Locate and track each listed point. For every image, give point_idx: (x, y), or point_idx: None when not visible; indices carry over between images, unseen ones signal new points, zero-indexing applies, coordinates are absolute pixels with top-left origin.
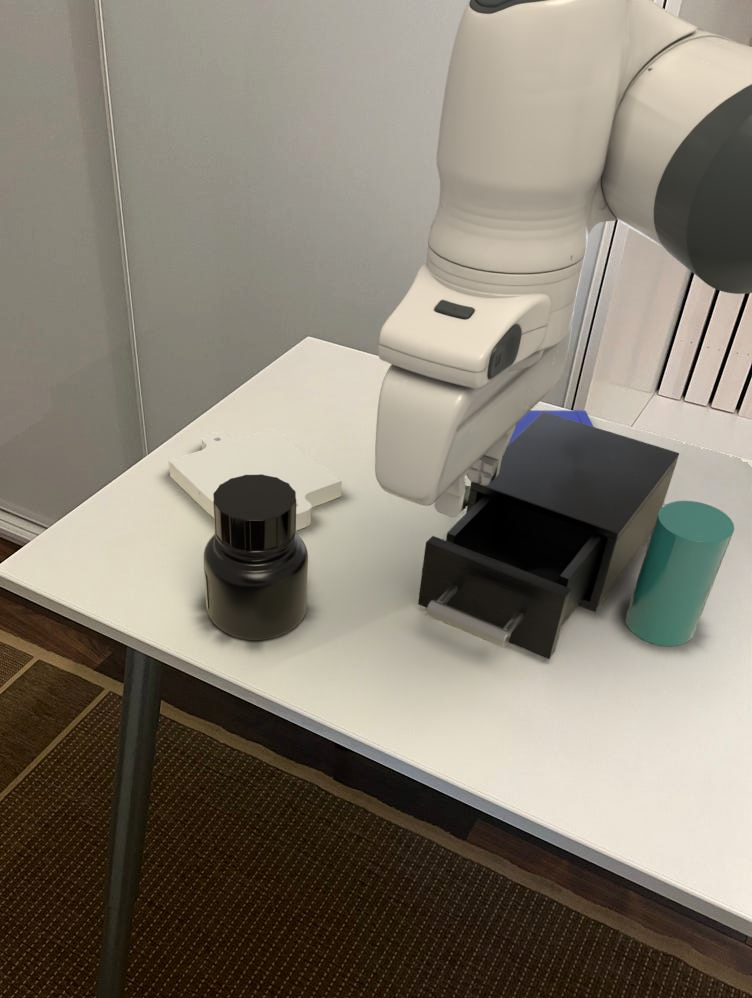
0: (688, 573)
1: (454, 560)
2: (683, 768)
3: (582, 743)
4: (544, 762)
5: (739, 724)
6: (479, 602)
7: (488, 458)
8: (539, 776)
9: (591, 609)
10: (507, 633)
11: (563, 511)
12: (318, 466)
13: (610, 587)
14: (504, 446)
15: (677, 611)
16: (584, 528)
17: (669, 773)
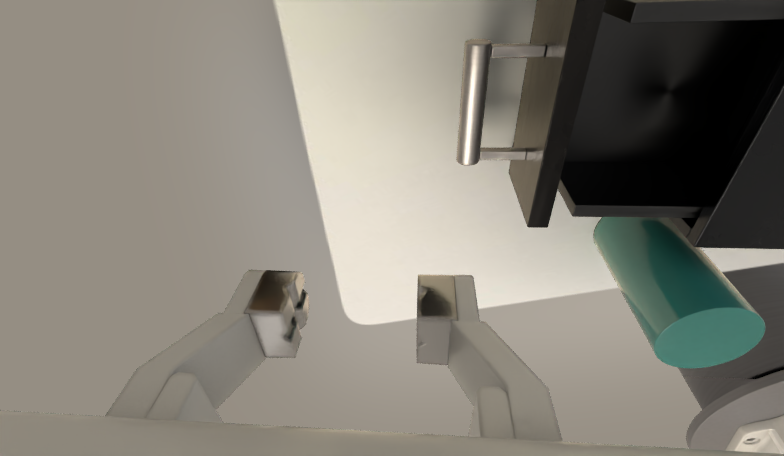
0: (632, 311)
1: (560, 53)
2: None
3: (422, 225)
4: (381, 209)
5: (513, 302)
6: (534, 92)
7: (442, 349)
8: (363, 211)
9: None
10: (467, 164)
11: (743, 170)
12: None
13: None
14: (469, 399)
15: (611, 273)
16: (708, 200)
17: None
